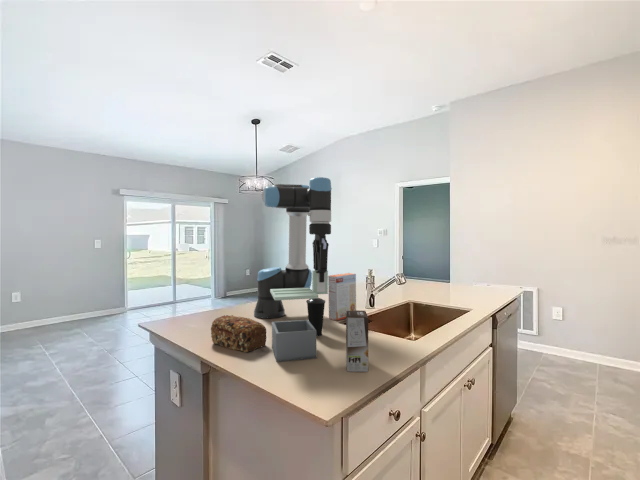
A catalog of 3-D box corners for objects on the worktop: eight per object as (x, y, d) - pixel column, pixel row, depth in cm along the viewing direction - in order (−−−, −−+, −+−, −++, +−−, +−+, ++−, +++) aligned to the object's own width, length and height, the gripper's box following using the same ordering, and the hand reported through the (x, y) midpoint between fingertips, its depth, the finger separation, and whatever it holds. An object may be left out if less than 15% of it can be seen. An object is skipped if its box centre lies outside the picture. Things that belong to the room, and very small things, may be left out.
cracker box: (347, 313, 165) (347, 272, 165) (356, 316, 161) (356, 273, 161) (327, 318, 156) (327, 274, 156) (336, 321, 151) (336, 276, 151)
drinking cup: (323, 338, 126) (323, 286, 126) (304, 337, 128) (304, 286, 127) (327, 332, 134) (327, 283, 133) (308, 331, 135) (308, 283, 135)
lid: (270, 291, 117) (270, 269, 117) (321, 289, 121) (321, 268, 121) (274, 300, 102) (274, 274, 102) (333, 297, 107) (333, 273, 107)
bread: (210, 344, 120) (210, 317, 120) (232, 336, 129) (232, 311, 129) (246, 354, 110) (246, 325, 109) (268, 345, 119) (268, 318, 118)
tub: (271, 347, 117) (271, 321, 116) (307, 344, 120) (307, 319, 120) (276, 361, 103) (276, 333, 103) (316, 358, 106) (316, 330, 106)
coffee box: (369, 372, 95) (369, 317, 95) (347, 372, 96) (347, 317, 95) (365, 360, 104) (365, 310, 104) (345, 359, 105) (345, 310, 104)
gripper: (305, 223, 119) (305, 287, 120) (314, 222, 105) (314, 295, 105) (325, 223, 121) (324, 286, 122) (336, 222, 107) (336, 294, 107)
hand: (320, 290), depth 114 cm, fingers closed on lid, 2 cm apart
